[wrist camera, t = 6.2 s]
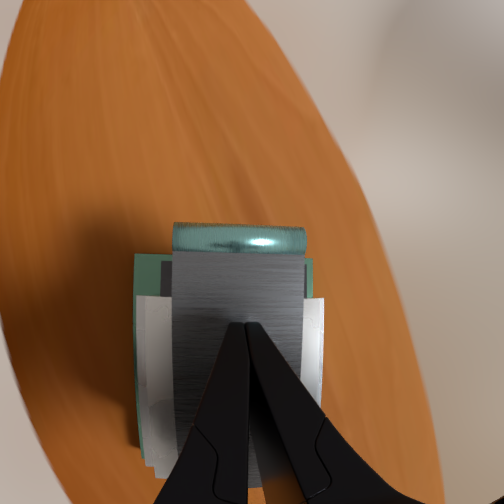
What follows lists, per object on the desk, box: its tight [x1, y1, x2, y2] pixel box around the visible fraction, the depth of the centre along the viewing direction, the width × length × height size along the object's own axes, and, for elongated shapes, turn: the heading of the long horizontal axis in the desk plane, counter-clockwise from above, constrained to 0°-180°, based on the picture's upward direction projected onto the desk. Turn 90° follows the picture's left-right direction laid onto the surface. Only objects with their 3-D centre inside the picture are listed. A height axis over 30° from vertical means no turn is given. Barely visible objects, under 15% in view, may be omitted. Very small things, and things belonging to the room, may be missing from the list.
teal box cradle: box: [133, 254, 324, 479], centre depth 13 cm, size 11×9×6 cm
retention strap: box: [172, 222, 307, 488], centre depth 10 cm, size 1×4×9 cm
